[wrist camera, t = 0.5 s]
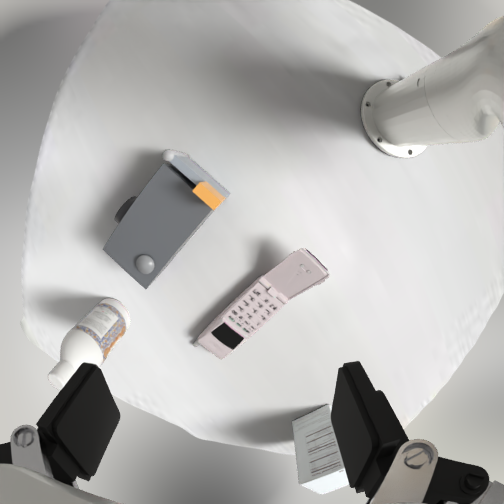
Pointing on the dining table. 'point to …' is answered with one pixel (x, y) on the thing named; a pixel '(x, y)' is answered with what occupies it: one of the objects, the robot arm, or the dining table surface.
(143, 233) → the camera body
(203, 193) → the side door
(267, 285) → the mobile phone
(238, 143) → the dining table surface
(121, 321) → the bath foam
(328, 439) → the supplement box
